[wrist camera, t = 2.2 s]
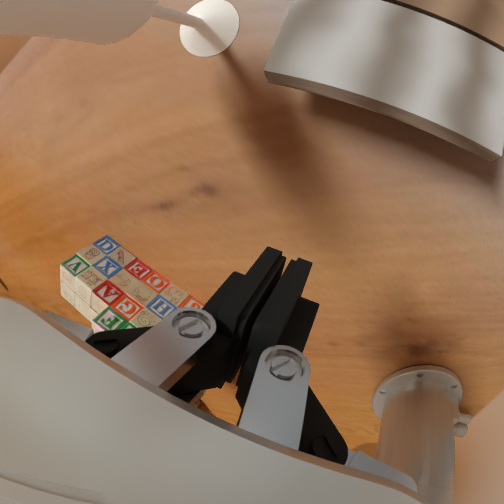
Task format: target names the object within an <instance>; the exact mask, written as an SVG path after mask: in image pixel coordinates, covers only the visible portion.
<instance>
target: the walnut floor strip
mask: <svg viewBox="0 0 504 504" xmlns="http://www.w3.org/2000/svg"><path fill="white" fill-rule="evenodd" d="M382 1H385V2H389V3H392V4H395V5H399V6H402V7H405V8H408V9H411V10H413V11H416V12H419V13H422V14H424V15H427V16H430V17H432V18H435V19H437V20H440V21H442V22H445V23H447V24H449V25H451V26H454V27H456V28H458V29H460V30H463V31H465V32H467V33H469V34H471V35H473V36H475V37H477V38H479V39H481V40H483V41H485V42H487V43H489V44H490V45H492V46H494V47H496V48H498V49H499V50H501V51H503V52H504V0H382Z"/></svg>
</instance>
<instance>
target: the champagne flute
mask: <svg viewBox="0 0 504 504" xmlns="http://www.w3.org/2000/svg"><path fill="white" fill-rule="evenodd" d="M157 1H158V0H0V34H3V35H26V36H40V37H50V38H60V39H68V40H75V41H82V42H89V43H95V44H103V45H106V44H111V43H116V42H118V41H121V40H123V39H125V38H127V37H129V36H130V35H132V34H133V33H135V32H136V31H137V30H138V29H140V28H141V27H142V26H143V25H144V24H145V23H146V22H147V21H148V20H149V18H150V17H151V16H152V17H156V18H160V19H164V20H168V21H171V22H175V23H179V24H181V26H180V38H181V42H182V44H183V46H184V47H185V48H186V50H187V51H189V52H190V53H191V54H194V55H196V56H200V57H209V56H214V55H216V54H219V53H220V52H222V51H224V50H225V49H226V48H227V47H228V46H230V44H231V43H232V42H233V41H234V39H235V37H236V35H237V32H238V29H239V17H238V14H237V11H236V10H235V8H234V7H233V6H232V5H231V4H230V3H228V2H227V1H224V0H203V1H201V2H199V3H197V4H196V5H194V6H193V7H192V8H191V9H190V10H189V11H188V12H187V13H185V12H182V11H179V10H176V9H173V8H170V7H167V6H163V5H160V4H157Z"/></svg>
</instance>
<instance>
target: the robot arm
mask: <svg viewBox="0 0 504 504" xmlns="http://www.w3.org/2000/svg"><path fill="white" fill-rule="evenodd" d="M285 261H286V257H284V256H282V251H279V250H277V249H274V248H271V247H267V248H266V249H265V250H264V252H263V253H262V254H261V255H260V257H259V258H258V259H257V261H256V262H255V263H254V264H253V266H252V267H251V268H250V270H249V271H248V272H247V273H246V275H243V274H241V273H238V272H236V271H235V272H233V273H232V274H231V275H230V276H229V277H228V278H227V280H226V281H225V282H224V283H223V284H222V285H221V287H220V288H219V289H218V290H217V291H216V292H215V294H214V295H213V296H212V297H211V298H210V299H209V301H208V302H207V303H206V304H205V305H204V306H203V308H202V309H199V308H194V307H184V308H179V309H177V310H175V311H173V312H172V313H170V314H169V315H168V316H166V317H165V318H164V319H162V320H161V321H160V322H159V323H157V324H156V325H155V326H148V327H138V328H128V329H117V330H106V331H100V332H97V333H94V331H93V329H92V328H90V327H87V326H84V325H82V324H79V323H77V322H74V321H72V320H69V319H67V318H64V317H62V316H59V315H57V314H54V313H52V312H48V311H39V310H37V309H36V308H34V307H32V306H30V305H28V304H26V303H23V302H21V301H19V300H15V299H12V298H8V297H3V296H0V504H452V501H453V486H454V436H460V437H463V436H464V435H465V434H466V432H467V425H466V424H469V422H470V421H471V415H469V414H465V413H460V411H459V404H460V402H461V400H462V396H463V389H462V384H461V381H460V379H459V377H458V376H457V375H456V374H455V373H454V372H452V371H450V370H448V369H446V368H443V367H440V366H433V365H421V366H413V367H409V368H405V369H402V370H400V371H397V372H395V373H393V374H391V375H390V376H388V377H387V378H385V379H384V380H383V381H382V382H381V383H380V384H379V385H378V386H377V388H376V390H375V391H374V395H373V400H372V407H373V411H374V412H375V414H376V415H377V417H378V418H379V419H381V426H380V433H379V439H378V446H377V451H376V458H375V459H374V458H372V457H370V456H368V455H366V454H364V453H362V452H360V451H359V450H357V451H356V452H353V451H352V450H350V449H348V447H347V445H346V443H345V441H344V439H343V437H342V436H341V434H340V433H339V431H338V430H337V428H336V427H335V425H334V424H333V422H332V421H331V419H330V418H329V416H328V415H327V413H326V411H325V410H324V408H323V407H322V405H321V404H320V402H319V401H318V399H317V398H316V396H315V394H314V393H313V391H312V390H311V388H310V387H309V378H310V364H309V361H308V359H307V358H306V357H305V356H304V354H303V353H302V352H303V350H304V347H305V344H306V342H307V339H308V336H309V333H310V330H311V328H312V325H313V322H314V319H315V316H316V313H317V310H318V308H319V304H318V303H316V302H313V301H310V300H308V299H305V298H302V297H301V295H302V292H303V289H304V286H305V283H306V281H307V278H308V275H309V272H310V269H311V266H312V262H309V261H306V260H304V259H301V258H298V259H297V261H295V260H292V259H291V261H290V262H289V264H288V266H287V268H286V269H285V271H284V273H283V274H282V271H283V268H284V265H285ZM281 275H282V276H281ZM241 365H242V366H241ZM240 367H241V369H240ZM239 369H240V373H239V376H238V380H237V383H236V386H238V389H237V393H236V396H235V397H236V399H237V401H238V403H239V405H240V407H241V409H242V410H241V413H240V416H239V419H238V422H237V425H236V426H235V425H233V424H230V423H228V422H226V421H224V420H222V419H219V418H217V417H215V416H213V415H211V414H209V413H207V412H205V411H202V410H200V409H198V408H196V407H194V405H195V404H196V403H197V402H198V401H199V399H200V398H201V397H202V396H203V395H204V393H205V392H206V389H211V388H216V387H218V388H220V389H221V388H222V386H223V385H224V383H225V381H227V382H229V383H231V382H232V381H233V379H234V377H235V375H236V374H237V372H238V370H239ZM458 422H460V423H458ZM462 423H464V424H462Z"/></svg>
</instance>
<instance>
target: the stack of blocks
mask: <svg viewBox="0 0 504 504" xmlns="http://www.w3.org/2000/svg"><path fill="white" fill-rule="evenodd" d="M60 280H61V295H62V296H63V297H64V298H65V299H66V300H67V301H68V302H69V303H70V304H72V305H73V306H74V307H75V308H76V309H77V310H78V311H79V312H80V313H81V314H82V315H83V316H85V317H86V318H87V319H88V320H90V322H91V323H92V329H93V331H94V333H97V332H100V331H106V330H117V329H128V328H138V327H148V326H155V325H156V324H157V323H159V322H160V321H161V320H162V319H164V318H165V317H166V316H168V315H169V314H170V313H172V312H173V311H175V310H177V309H179V308H184V307H194V308H199V309H202V308H203V306H204V304H202V303H201V302H199V301H198V300H196V299H195V298H193V297H192V296H190V295H189V294H188V293H186V292H185V291H183V290H182V289H181V288H179V287H178V286H176V285H175V284H173V283H171V282H169V281H168V280H166V279H165V278H164V277H162V276H161V275H159V274H158V273H157V272H155V271H153V270H152V269H151V268H149V267H148V266H147V265H145V264H144V263H142V262H141V261H140V260H138V259H137V258H136V257H135V256H134V255H132V254H131V253H129V252H128V251H127V250H125V249H124V248H123V247H121V246H120V245H119V244H118V243H116V242H115V241H114V240H112V239H111V238H110V237H108V236H107V235H106V236H104V237H102V238H101V239H99V240H97V241H96V242H94V243H92V244H90V245H88V246H87V247H85V248H83V249H82V250H80V251H79V252H77V254H75V255H73V256H72V257H70V258H69V259H67V260H66V261H64V262H63V263H61V264H60Z"/></svg>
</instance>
